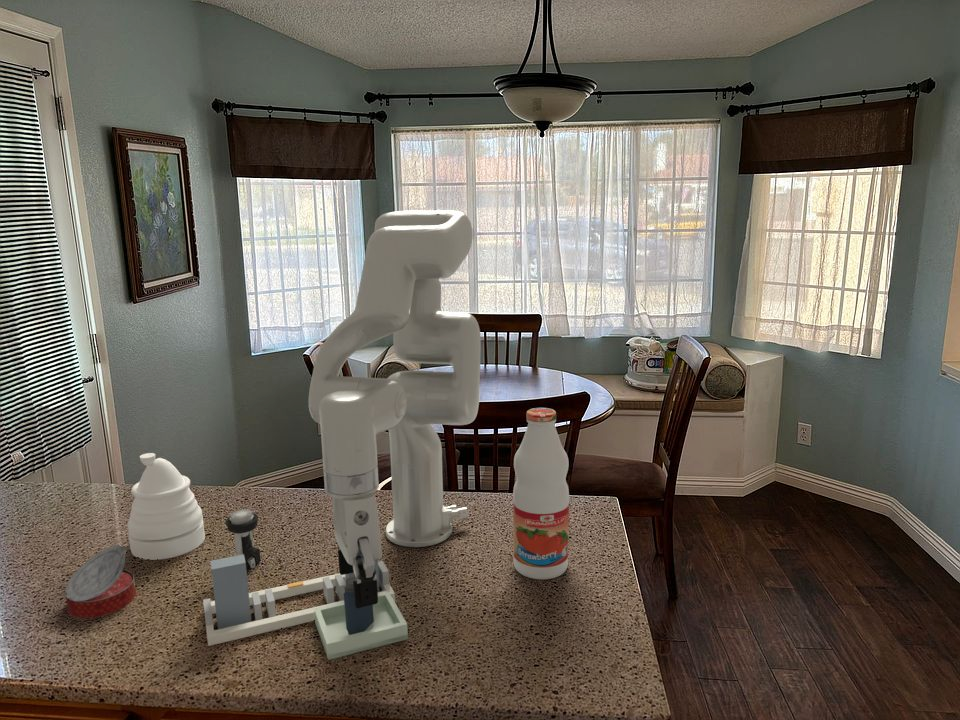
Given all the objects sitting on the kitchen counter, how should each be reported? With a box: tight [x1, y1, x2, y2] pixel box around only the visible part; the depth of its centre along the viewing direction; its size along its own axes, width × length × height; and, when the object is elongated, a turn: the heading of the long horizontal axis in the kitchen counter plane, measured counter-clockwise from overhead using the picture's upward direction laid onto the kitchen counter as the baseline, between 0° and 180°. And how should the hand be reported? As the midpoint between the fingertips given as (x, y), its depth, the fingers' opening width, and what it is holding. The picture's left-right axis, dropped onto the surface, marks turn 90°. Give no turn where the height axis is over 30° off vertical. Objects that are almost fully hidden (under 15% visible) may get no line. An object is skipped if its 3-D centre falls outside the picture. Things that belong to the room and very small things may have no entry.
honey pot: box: [127, 452, 206, 561], centre depth 133 cm, size 13×13×18 cm
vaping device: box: [344, 556, 374, 635], centre depth 106 cm, size 3×5×12 cm, turn 158°
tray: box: [314, 591, 409, 661], centre depth 107 cm, size 12×10×2 cm
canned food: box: [64, 544, 137, 619], centre depth 116 cm, size 11×10×10 cm
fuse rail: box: [202, 554, 396, 647], centre depth 113 cm, size 28×10×10 cm, turn 113°
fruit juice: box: [512, 407, 570, 580], centre depth 122 cm, size 9×9×28 cm
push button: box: [225, 508, 261, 571], centre depth 125 cm, size 7×5×10 cm
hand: (358, 588), depth 106 cm, fingers open, 9 cm apart
